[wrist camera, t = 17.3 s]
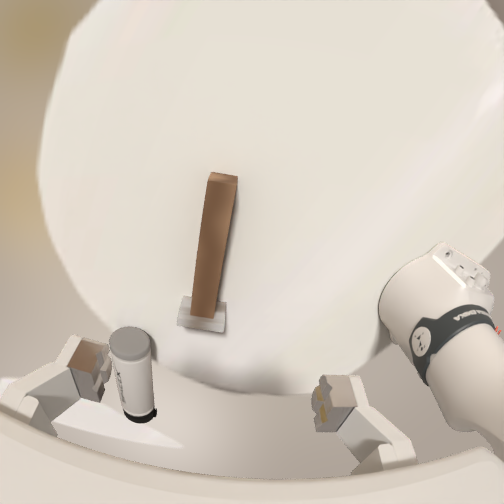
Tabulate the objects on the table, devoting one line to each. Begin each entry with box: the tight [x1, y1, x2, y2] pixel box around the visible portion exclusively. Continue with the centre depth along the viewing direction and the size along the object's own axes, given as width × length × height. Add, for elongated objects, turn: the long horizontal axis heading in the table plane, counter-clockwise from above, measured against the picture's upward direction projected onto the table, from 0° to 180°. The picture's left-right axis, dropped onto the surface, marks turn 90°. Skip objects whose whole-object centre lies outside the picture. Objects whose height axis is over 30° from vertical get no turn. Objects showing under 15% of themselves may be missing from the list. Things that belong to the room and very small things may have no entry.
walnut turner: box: [177, 172, 238, 333], centre depth 36 cm, size 6×19×5 cm, turn 169°
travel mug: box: [109, 327, 157, 423], centre depth 46 cm, size 6×7×20 cm
